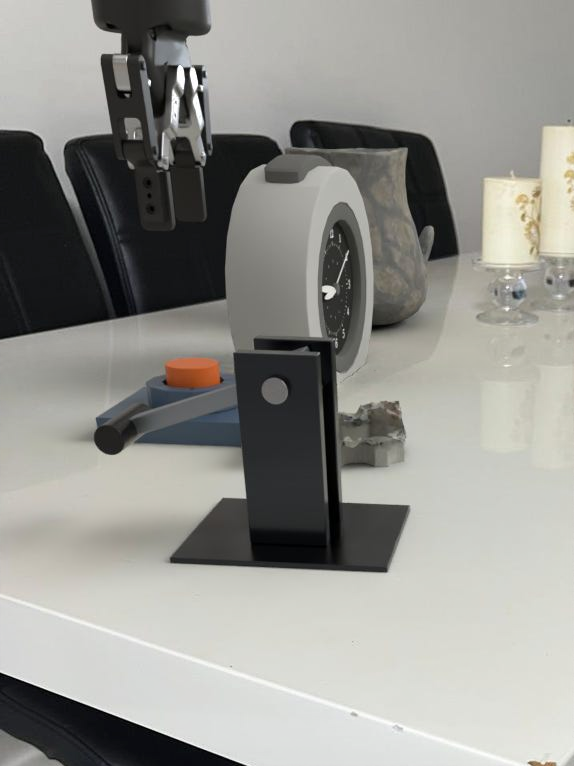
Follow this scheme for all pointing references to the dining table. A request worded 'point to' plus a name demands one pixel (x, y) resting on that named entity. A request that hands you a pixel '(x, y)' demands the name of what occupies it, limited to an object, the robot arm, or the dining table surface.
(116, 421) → the grey crank handle
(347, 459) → the egg carton
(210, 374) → the button
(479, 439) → the dining table surface
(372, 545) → the black lever stand
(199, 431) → the control block
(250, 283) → the alarm clock
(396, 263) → the vessel
